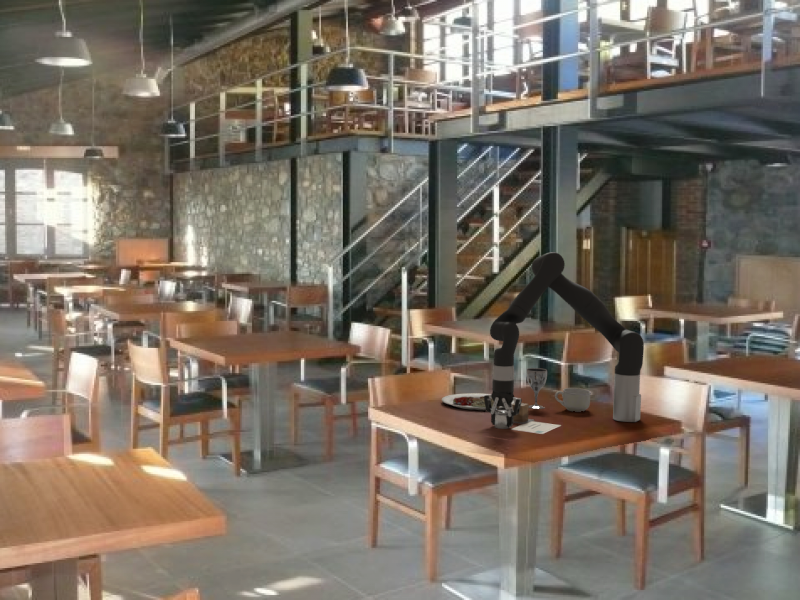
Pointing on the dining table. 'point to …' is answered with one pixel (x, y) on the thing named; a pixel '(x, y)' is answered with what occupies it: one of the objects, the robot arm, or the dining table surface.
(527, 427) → the envelope
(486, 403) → the robot arm
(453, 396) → the plated food
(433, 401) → the dining table surface
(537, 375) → the wine glass
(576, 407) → the teacup
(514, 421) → the coaster
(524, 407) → the walnut block
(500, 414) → the tin
